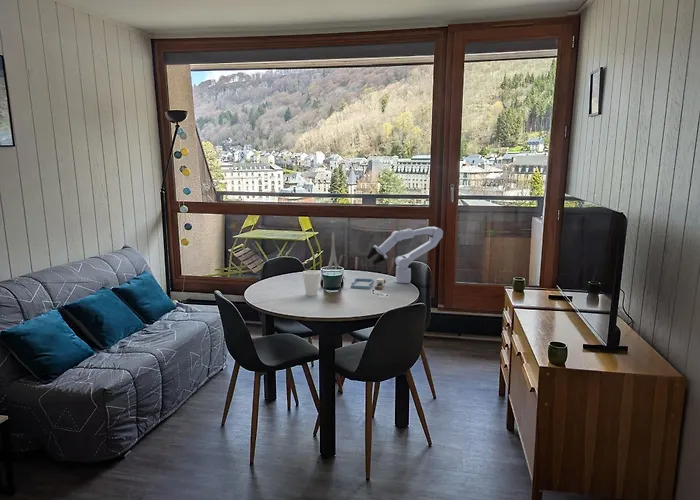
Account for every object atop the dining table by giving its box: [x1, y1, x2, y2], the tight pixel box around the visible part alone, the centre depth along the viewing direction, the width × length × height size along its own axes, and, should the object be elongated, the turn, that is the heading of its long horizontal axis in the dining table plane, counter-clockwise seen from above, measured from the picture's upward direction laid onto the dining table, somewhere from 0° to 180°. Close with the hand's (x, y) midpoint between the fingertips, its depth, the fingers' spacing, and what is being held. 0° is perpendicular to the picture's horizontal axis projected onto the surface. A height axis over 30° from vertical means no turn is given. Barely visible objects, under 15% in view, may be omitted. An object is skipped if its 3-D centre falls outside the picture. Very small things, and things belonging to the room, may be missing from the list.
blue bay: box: [350, 277, 375, 290], centre depth 306 cm, size 11×19×2 cm, turn 170°
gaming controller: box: [319, 277, 345, 288], centre depth 299 cm, size 14×6×10 cm, turn 84°
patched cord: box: [376, 278, 385, 287], centre depth 304 cm, size 4×12×4 cm, turn 170°
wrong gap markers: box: [374, 278, 386, 291], centre depth 304 cm, size 4×20×2 cm, turn 170°
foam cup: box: [302, 269, 321, 297], centre depth 282 cm, size 10×9×13 cm
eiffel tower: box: [327, 231, 345, 280], centre depth 324 cm, size 13×13×30 cm
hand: (370, 260), depth 307 cm, fingers open, 7 cm apart
